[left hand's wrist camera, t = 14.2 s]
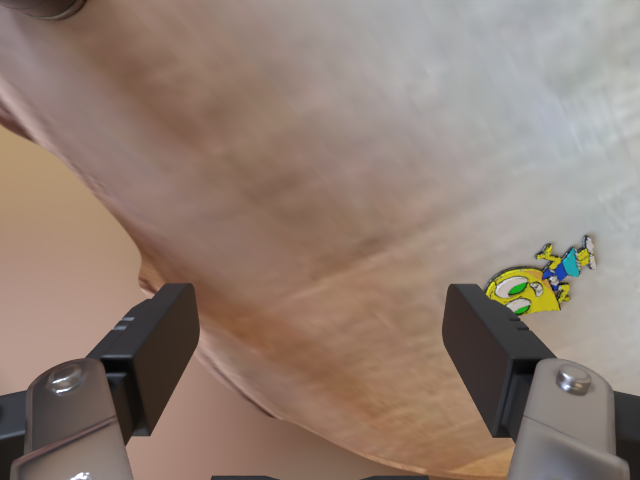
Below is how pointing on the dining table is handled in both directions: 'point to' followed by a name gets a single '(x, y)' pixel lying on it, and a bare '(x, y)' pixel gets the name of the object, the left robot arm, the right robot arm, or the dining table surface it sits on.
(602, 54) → the dining table surface
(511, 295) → the toy
